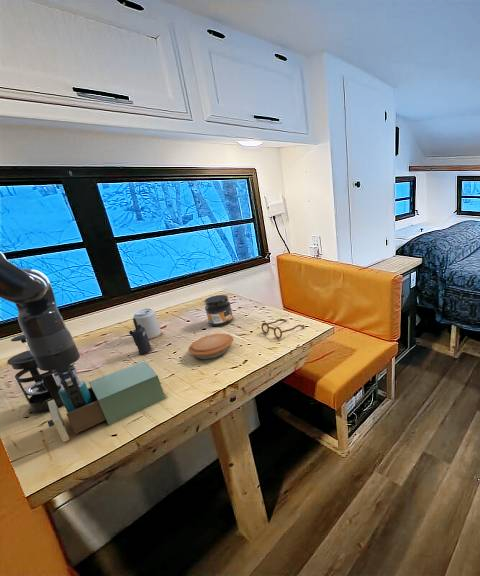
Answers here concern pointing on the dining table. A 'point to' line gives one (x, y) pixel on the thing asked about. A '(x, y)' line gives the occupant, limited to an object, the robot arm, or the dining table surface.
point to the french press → (43, 384)
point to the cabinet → (127, 391)
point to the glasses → (278, 328)
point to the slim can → (67, 401)
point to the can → (148, 322)
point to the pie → (211, 346)
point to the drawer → (76, 417)
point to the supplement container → (218, 310)
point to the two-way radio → (140, 338)
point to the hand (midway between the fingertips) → (78, 401)
